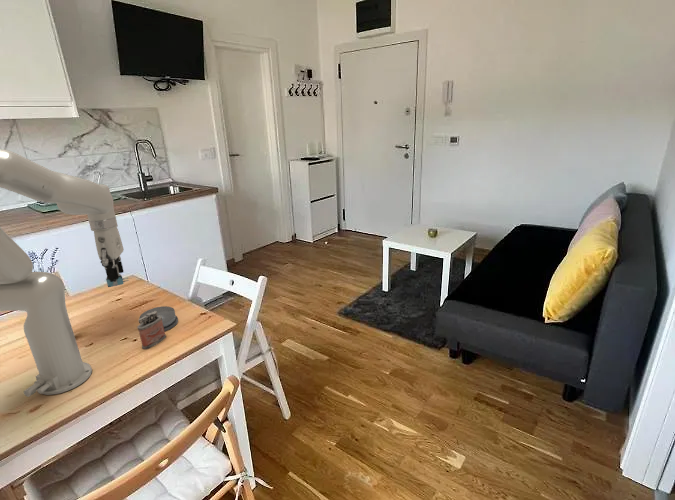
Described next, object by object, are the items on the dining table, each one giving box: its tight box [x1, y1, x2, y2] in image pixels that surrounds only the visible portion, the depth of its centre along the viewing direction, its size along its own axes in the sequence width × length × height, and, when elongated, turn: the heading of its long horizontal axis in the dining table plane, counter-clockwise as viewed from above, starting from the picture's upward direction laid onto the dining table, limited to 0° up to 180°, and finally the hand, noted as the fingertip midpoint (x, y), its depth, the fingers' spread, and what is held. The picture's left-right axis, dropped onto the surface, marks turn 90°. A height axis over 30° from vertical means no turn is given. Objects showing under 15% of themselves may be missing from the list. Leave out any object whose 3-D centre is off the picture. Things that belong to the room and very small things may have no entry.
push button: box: [100, 257, 130, 288], centre depth 128 cm, size 7×5×10 cm
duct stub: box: [138, 305, 179, 332], centre depth 130 cm, size 12×12×4 cm
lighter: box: [136, 311, 167, 350], centre depth 119 cm, size 8×3×10 cm, turn 154°
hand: (115, 275), depth 129 cm, fingers closed on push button, 4 cm apart
